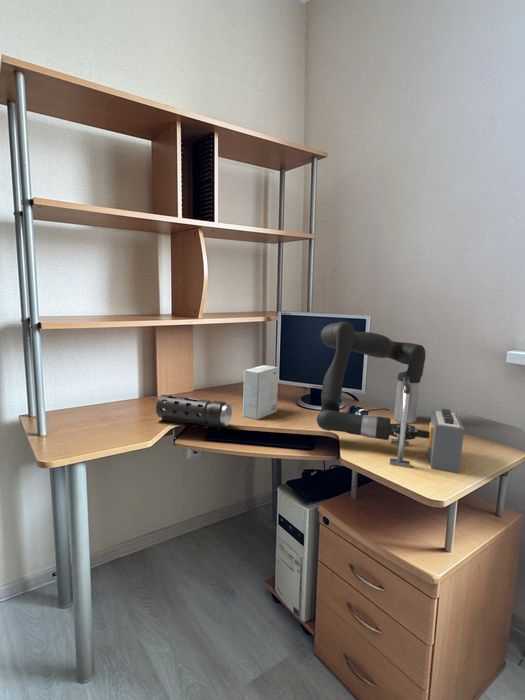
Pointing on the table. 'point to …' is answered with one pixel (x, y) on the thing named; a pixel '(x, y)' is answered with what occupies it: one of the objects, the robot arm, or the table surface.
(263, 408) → the hard drive box
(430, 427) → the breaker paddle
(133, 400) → the table surface
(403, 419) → the cord gate
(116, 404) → the table surface
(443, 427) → the box
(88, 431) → the table surface
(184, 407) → the muzzle brake
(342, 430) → the robot arm
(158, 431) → the table surface
